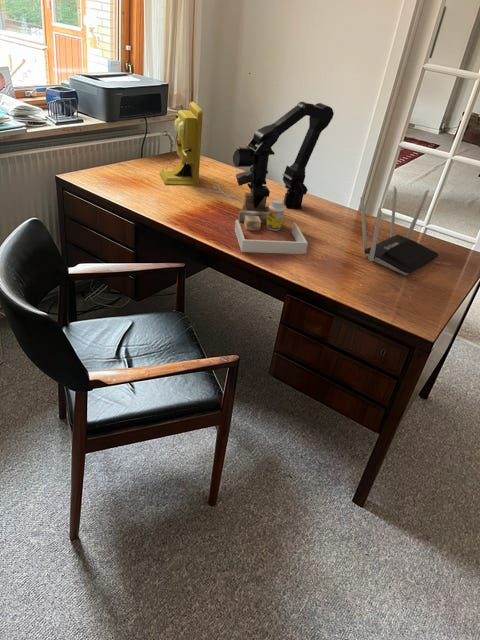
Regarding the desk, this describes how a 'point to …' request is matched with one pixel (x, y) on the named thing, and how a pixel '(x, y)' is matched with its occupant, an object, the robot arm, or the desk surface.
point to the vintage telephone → (186, 148)
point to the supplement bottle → (275, 215)
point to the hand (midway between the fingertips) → (254, 205)
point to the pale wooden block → (252, 222)
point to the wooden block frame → (250, 206)
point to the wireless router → (397, 244)
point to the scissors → (219, 192)
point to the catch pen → (273, 243)
